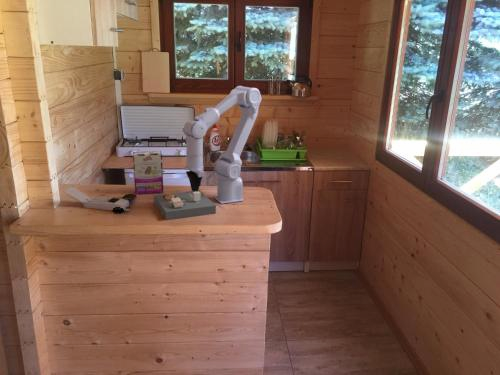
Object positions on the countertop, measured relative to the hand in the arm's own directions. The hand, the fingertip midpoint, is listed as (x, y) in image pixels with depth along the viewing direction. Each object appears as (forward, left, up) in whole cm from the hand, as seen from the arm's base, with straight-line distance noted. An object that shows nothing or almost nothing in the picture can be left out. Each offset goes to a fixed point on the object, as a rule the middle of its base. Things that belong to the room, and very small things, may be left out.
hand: (195, 190), depth 153 cm
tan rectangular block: (0, +2, -3) cm, 4 cm away
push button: (+8, -5, -6) cm, 11 cm away
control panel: (+4, 0, -6) cm, 8 cm away
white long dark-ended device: (+32, -12, -7) cm, 35 cm away
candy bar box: (+12, -22, -7) cm, 26 cm away
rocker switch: (+8, +5, -2) cm, 9 cm away
